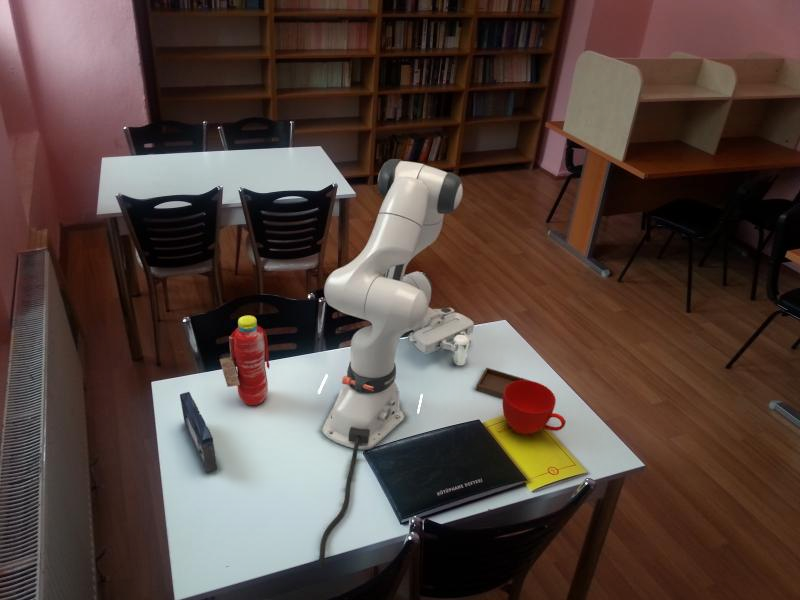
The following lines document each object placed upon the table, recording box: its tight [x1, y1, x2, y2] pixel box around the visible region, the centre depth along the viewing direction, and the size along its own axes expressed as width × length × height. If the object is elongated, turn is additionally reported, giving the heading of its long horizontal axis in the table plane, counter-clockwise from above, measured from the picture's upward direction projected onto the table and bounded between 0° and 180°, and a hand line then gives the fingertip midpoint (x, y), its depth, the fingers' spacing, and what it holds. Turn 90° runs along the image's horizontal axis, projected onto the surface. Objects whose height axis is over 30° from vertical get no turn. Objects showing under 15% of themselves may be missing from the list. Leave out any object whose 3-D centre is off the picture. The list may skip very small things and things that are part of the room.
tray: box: [475, 367, 531, 399], centre depth 171 cm, size 9×15×2 cm, turn 66°
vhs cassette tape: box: [179, 391, 218, 473], centre depth 143 cm, size 18×3×10 cm, turn 30°
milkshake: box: [453, 335, 470, 367], centre depth 178 cm, size 4×5×10 cm
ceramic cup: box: [502, 379, 566, 436], centre depth 155 cm, size 13×17×10 cm
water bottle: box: [219, 315, 270, 406], centre depth 155 cm, size 12×8×25 cm, turn 108°
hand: (463, 346), depth 176 cm, fingers closed on milkshake, 4 cm apart
